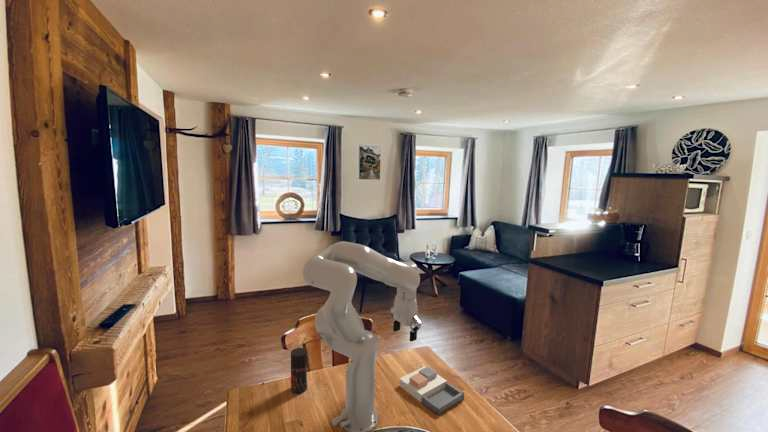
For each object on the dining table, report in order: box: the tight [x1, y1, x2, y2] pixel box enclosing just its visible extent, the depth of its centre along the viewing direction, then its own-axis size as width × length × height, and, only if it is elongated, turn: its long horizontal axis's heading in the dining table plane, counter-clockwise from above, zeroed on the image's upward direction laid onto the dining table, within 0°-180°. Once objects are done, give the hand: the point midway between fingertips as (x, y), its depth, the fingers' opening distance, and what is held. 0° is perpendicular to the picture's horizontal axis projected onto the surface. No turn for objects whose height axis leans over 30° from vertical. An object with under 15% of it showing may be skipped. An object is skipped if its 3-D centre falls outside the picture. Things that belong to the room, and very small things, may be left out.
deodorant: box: [290, 347, 308, 395], centre depth 127 cm, size 6×6×15 cm
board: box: [398, 365, 448, 403], centre depth 132 cm, size 14×12×3 cm
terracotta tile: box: [409, 373, 428, 389], centre depth 129 cm, size 5×5×2 cm
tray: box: [421, 381, 465, 416], centre depth 124 cm, size 14×8×2 cm, turn 129°
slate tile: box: [419, 366, 438, 381], centre depth 134 cm, size 5×5×2 cm
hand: (404, 335), depth 135 cm, fingers open, 9 cm apart
